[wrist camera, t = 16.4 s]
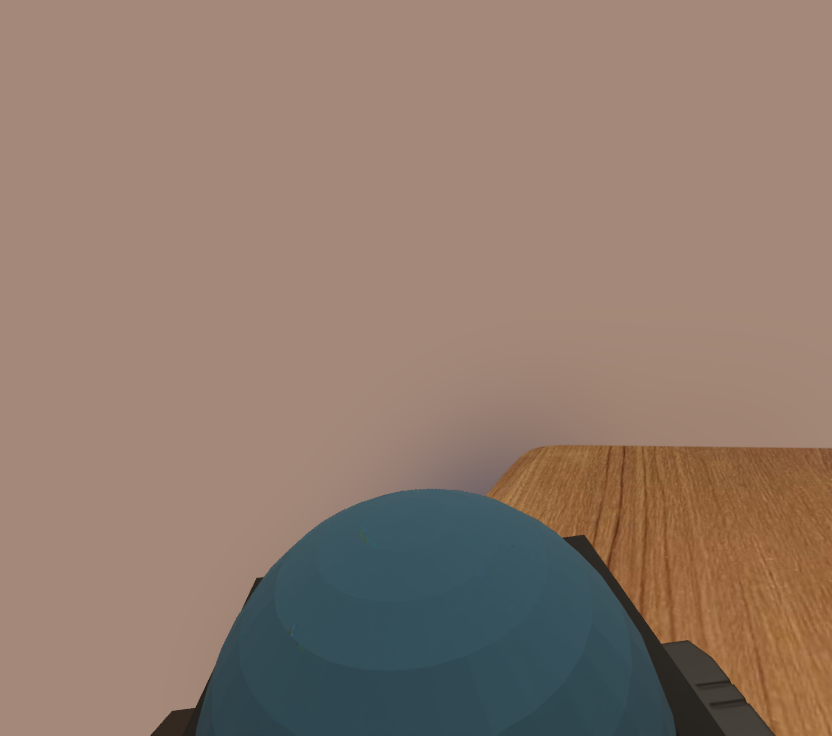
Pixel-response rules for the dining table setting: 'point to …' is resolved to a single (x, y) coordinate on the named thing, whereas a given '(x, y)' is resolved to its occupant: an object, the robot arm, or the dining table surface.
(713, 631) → the dining table surface
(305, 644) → the dark teal ovoid
